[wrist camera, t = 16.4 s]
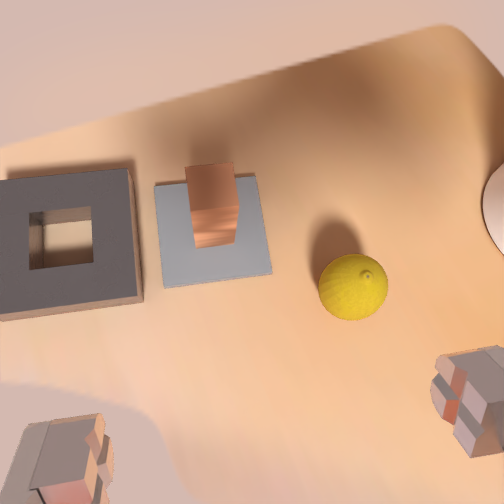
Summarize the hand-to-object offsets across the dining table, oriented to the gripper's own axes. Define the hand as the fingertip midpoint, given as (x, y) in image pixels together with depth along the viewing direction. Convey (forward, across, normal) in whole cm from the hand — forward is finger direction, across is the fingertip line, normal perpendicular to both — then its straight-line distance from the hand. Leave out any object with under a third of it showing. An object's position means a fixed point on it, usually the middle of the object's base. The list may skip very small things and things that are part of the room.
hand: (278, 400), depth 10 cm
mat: (+30, 0, +9) cm, 31 cm away
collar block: (+30, +13, +9) cm, 33 cm away
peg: (+29, 0, +9) cm, 30 cm away
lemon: (+24, -11, +15) cm, 30 cm away
